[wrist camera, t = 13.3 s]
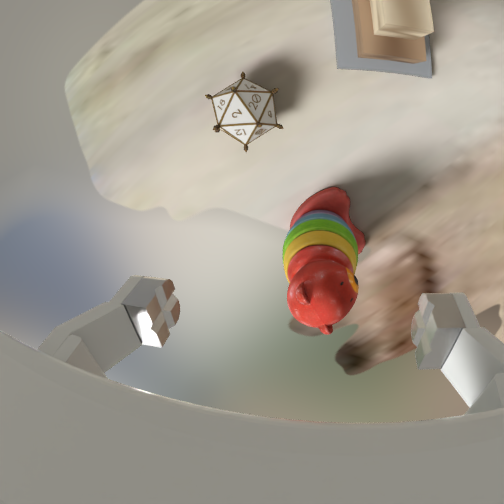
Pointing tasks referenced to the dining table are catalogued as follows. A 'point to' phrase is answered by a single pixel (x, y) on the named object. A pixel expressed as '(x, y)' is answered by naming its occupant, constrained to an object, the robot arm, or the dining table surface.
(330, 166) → the dining table surface
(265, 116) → the game die
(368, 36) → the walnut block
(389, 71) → the base plate
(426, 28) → the oak block
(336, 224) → the stacking bear
